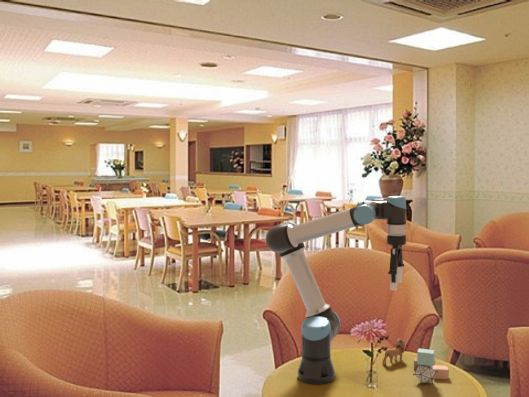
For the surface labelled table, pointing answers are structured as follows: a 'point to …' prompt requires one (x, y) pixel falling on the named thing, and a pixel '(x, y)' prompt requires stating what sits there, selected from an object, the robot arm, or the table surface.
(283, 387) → the table surface
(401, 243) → the robot arm
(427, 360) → the teal block
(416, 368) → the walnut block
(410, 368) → the table surface
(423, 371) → the game die
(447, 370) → the terracotta block
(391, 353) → the lion figurine
